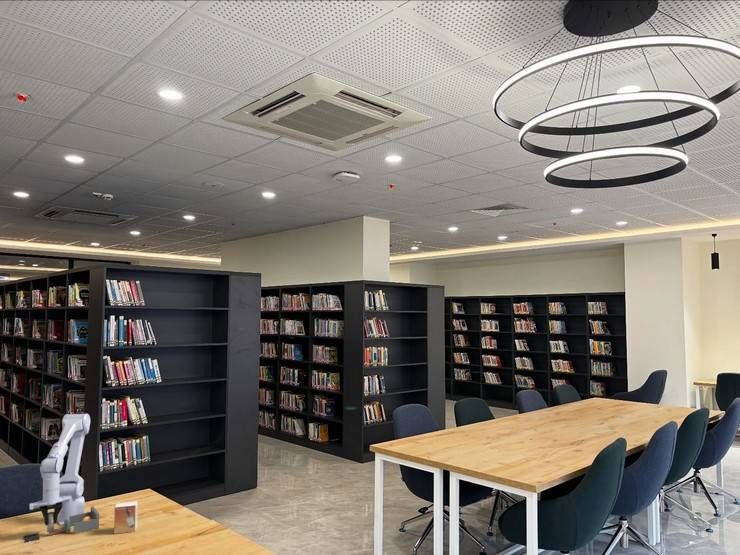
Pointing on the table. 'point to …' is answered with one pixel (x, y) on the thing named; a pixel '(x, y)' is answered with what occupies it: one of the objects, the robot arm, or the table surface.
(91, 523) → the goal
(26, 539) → the track
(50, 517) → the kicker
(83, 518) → the ball
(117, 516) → the small box
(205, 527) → the table surface
